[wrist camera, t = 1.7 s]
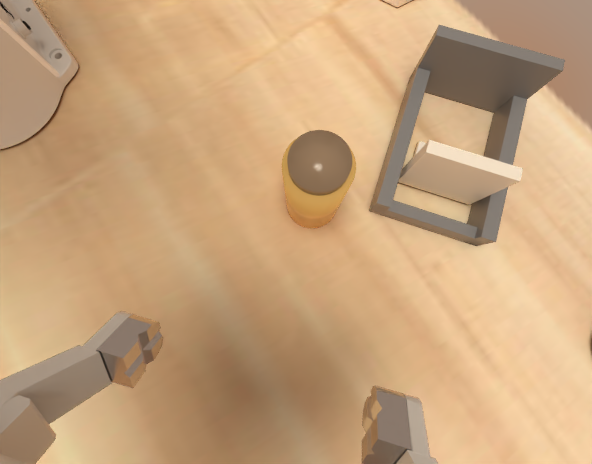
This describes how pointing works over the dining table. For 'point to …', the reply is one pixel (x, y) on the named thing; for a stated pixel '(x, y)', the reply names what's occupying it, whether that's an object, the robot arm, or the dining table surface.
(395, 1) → the jar
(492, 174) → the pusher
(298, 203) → the honey jar
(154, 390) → the dining table surface
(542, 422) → the dining table surface
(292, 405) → the dining table surface
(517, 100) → the grey open box
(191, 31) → the dining table surface
